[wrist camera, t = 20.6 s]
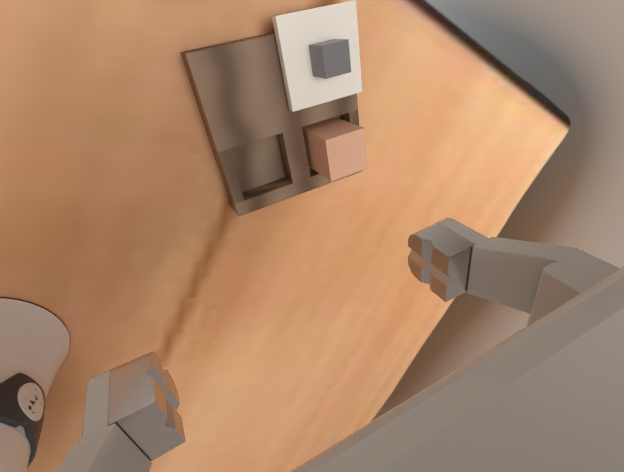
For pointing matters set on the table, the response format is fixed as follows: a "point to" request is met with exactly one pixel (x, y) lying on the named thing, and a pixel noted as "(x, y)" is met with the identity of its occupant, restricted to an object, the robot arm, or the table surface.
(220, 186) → the table surface
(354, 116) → the board
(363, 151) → the block
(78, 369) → the table surface
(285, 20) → the lid
